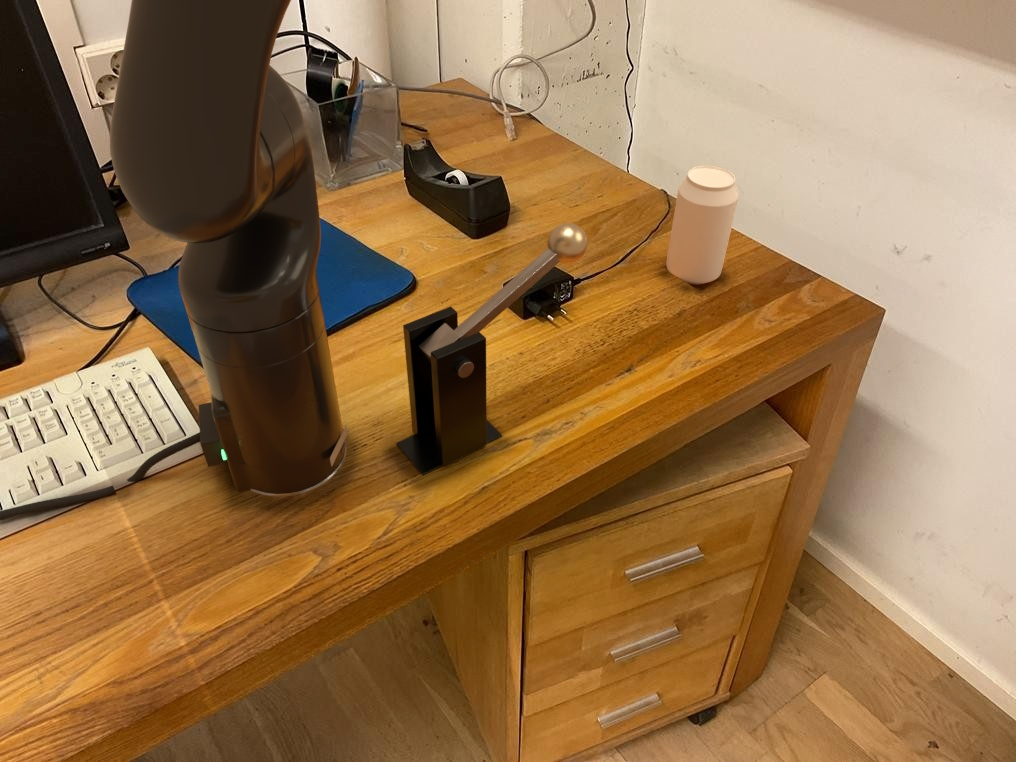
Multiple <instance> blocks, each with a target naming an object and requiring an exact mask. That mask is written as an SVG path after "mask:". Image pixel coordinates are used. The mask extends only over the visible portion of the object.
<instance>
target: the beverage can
mask: <svg viewBox="0 0 1016 762" xmlns="http://www.w3.org/2000/svg"><path fill="white" fill-rule="evenodd" d="M738 201H739V191H738V188H737V185H736V176H735V175H734V173H733V172H731V171H729V170H728V169H726V168H723V167H720V166H716V165H698V166H694V167H692V168H690V169H689V170H688V171H687V175H686V176H685V178H684V179H683V180H682V181H681V183H680V184H679V185H678V189H677V194H676V201H675V207H674V214H673V218H672V224H671V231H670V236H669V237H670V238H669V243H668V247H667V248H668V249H667V255H666V261H665V262H666V263H665V266H666V270H667V271H668V272H669V273H671V275H673V276H675V277H677V278H679V279H680V280H681V281H683V282H684V283H686V284H688V285H703V284H707V283H710V282H713V281H715V280H717V279H718V278H720V276H721V274H722V271H723V267H724V262H725V259H726V254H727V249H728V245H729V241H730V236H731V232H732V227H733V223H734V218H735V213H736V211H737V210H736V209H737V205H738Z"/></svg>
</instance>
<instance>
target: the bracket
mask: <svg viewBox="0 0 1016 762" xmlns="http://www.w3.org/2000/svg"><path fill="white" fill-rule="evenodd" d="M458 319H459V317H458V311H457V310H455V308H454V307H452V306H448V307H445V308H443V309H440V310H438V311H435V312H432V313H429V314H428V315H425V316H423V317H420V318H418V319H415V320H412V321H410V322H407V323H405V324H403V325H402V329H403V340H404V352H405V363H406V375H407V386H408V397H409V408H410V419H411V421H410V422H411V430H412V431H411V432H412V433H413V435H411V436H408V437H406V438H404V439H402V440H399V441H398V442H395V445H396V447H397V448H398V450H400V452H402V454H403V455H404V456H405V457H406V458H407V460H408V461H409V462H410V463H411V464H412V466H413V467H414V468H415V469H416V470H417V471H418V472H419V473H420V475H421V476H422V477H424V476H427V475H428V474H431V473H432V472H434V471H436V470H438V469H440V468H442V467H446V466H448V465H449V464H452V463H454V462H456V461H458V460H460V459H463V458H464V457H466V456H469V455H470V454H472V453H474V452H476V451H478V450H480V449H482V448H484V447H486V446H487V445H488V444H490V443H492V442H495V441H497V440H499V439H501V438H502V437H503V434H502V433H501V432H500V431H499V430H498V429H497V428H496V427H495V426H494V425H493V424H492V423H491V422H490V421H489V420H488V419H487V338H486V337H485V336H484V335H483V334H482V333H481V331H480V332H477V333H475V334H473V335H470V336H468V337H465V338H463V339H461V340H458V341H456V342H454V343H451V344H449V345H446V346H444V347H442V348H439V349H437V350H434V351H432V352H431V362H430V361H429V360H428V358H427V357H426V356H425V354H424V353H423V352H422V350H421V349H420V348H419V345H420V344H421V343H422V342H423V341H424V340H426V339H427V338H428V337H429V336H430V335H431V334H433V333H434V332H435V331H436V330H437V329H438V328H440V327H441V326H442V325H443V324H444V323H446V324H447V325H448V326H450V327H451V328H452V329H453V330H454V329H456V328H457V327H458V326H459V321H458Z"/></svg>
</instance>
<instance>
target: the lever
mask: <svg viewBox="0 0 1016 762" xmlns="http://www.w3.org/2000/svg"><path fill="white" fill-rule="evenodd" d="M546 245H547V248H546V250H544V251H543V252H542V253H541V254H540V255H538V256H537V257H536V258H535V259H534V260H533V261H531V262H530V263H529V264H528V265H527V266H526V267H525V268H524V269H522V270H521V271H520V272H519V273H518V274H516V275H515V276H514V277H513V278H512V279H511V280H510V281H508V282H507V283H506V284H505V285H504V286H502V288H500V289H499V290H498V291H497V292H495V293H494V295H492V296H491V297H490V298H489V299H488V300H487V301H485V302H484V303H483V304H482V305H481V306H480V307H479V308H477V309H476V310H475V311H474V312H473V313H472V314H470V315H469V316H467V318H466V319H465V320H464V321H463V322H461V323H460V324H458V327H457V328H456V329H454V330H453V329H452V328H451V327H450V326H448V325H447V324H446V323H444V324H443V325H442V326H441V327H440V328H438V329H437V330H436V331H435V332H434V333H433V334H431V335H430V336H429V337H428V338H427V339H426V340H424V341H423V342H422V343H421V344H420V345H419V348H420V349H421V350H422V352H423V353H424V354H425V356H426V357H427V358H428V360H429V361H430V362H431V352H432V351H434V350H437V349H439V348H442V347H444V346H446V345H449V344H451V343H454V342H456V341H458V340H461V339H463V338H465V337H468V336H470V335H473V334H475V333H477V332H480V333H481V331H482V330H483V329H485V328H486V327H487V326H488V325H490V324H491V323H492V322H493V321H494V320H495V319H496V318H497V317H498V316H500V315H501V314H502V313H503V312H505V310H507V308H509V307H510V306H511V305H512V304H514V302H516V301H517V300H518V299H519V298H520V297H521V296H522V295H524V294H525V293H526V292H527V291H529V289H531V288H532V287H533V286H534V285H535V284H536V283H537V282H539V281H540V280H541V279H542V278H543V277H544V276H545V275H547V274H548V273H549V272H550V271H552V269H554V268H555V267H556V266H558V264H559V263H560V264H568V265H569V264H573V263H576V262H578V261H579V260H580V259H582V258H583V257H584V255H585V253H586V252H587V249H588V238H587V234H586V233H585V231H584V230H583V229H582V227H580V226H579V225H577V224H576V223H571V222H564V223H561V224H558V225H556V226H555V227H554V228H553V229H552V230H551V231H550V233H549V235H548V237H547V244H546Z"/></svg>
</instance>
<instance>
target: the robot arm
mask: <svg viewBox="0 0 1016 762" xmlns="http://www.w3.org/2000/svg"><path fill="white" fill-rule="evenodd" d="M291 1H292V0H131V2H130V3H131V4H130V9H129V16H128V23H127V28H126V33H125V39H124V44H123V45H124V46H123V51H122V57H121V62H120V67H119V74H118V79H117V85H116V90H115V96H114V99H113V100H114V101H113V107H112V112H111V118H110V129H109V151H110V159H111V164H112V167H113V171H114V174H115V178H116V179H117V183H118V184H119V187H120V189H121V191H122V194H123V195H124V197H125V198H126V200H127V202H128V203H129V205H130V207H131V208H132V210H133V211H135V213H136V214H137V215H138V217H139V218H140V219H141V220H142V221H143V222H144V223H146V224H147V225H148V226H149V227H151V229H153V230H154V231H155V232H157V233H159V234H160V235H162V236H163V237H166V238H168V239H170V240H173V241H176V242H180V243H186V246H185V248H184V251H183V253H182V256H181V259H180V261H179V265H178V271H177V285H178V288H179V292H180V295H181V298H182V302H183V306H184V309H185V311H186V315H187V318H188V321H189V325H190V328H191V331H192V334H193V338H194V341H195V345H196V348H197V351H198V354H199V355H198V356H199V358H200V361H201V364H202V367H203V371H204V375H205V377H206V378H205V379H206V381H207V384H208V387H209V390H210V402H205V403H200V404H198V423H199V432H197V433H195V434H193V435H191V436H188V437H187V438H184V439H182V440H180V441H177V442H175V443H173V444H171V445H168V446H167V447H165V448H163V449H161V450H159V451H158V452H156V453H154V454H153V455H151V456H149V458H148V459H146V460H145V461H144V462H142V464H141V465H140V466H139V467H138V469H137V470H136V471H135V472H134V473H133V474H132V475H131V476H130V477H128V478H127V479H126V482H129V483H135V482H140V481H141V480H142V479H143V478H144V477H145V475H146V474H147V473H148V472H149V471H150V470H151V468H153V467H154V466H156V465H157V464H158V463H160V462H161V461H164V460H165V459H167V458H169V457H171V456H172V455H174V454H177V453H179V452H181V451H183V450H185V449H187V448H190V447H192V446H194V445H197V444H200V447H201V451H202V453H203V456H204V459H205V462H206V465H207V467H208V468H210V467H214V466H219V465H224V464H227V466H228V469H229V472H230V476H231V479H232V482H233V486H234V489H235V492H237V493H242V492H247V491H251V492H254V493H256V494H259V495H262V496H267V497H291V496H296V495H301V494H304V493H308V492H309V491H312V490H315V489H316V488H319V487H321V486H323V484H325V483H327V482H328V481H329V480H331V479H332V478H333V477H334V476H335V475H336V474H337V473H338V471H339V470H340V469H341V467H342V466H343V464H344V462H345V460H346V457H347V453H348V452H347V451H348V446H347V440H346V439H347V436H348V434H349V433H348V428H347V425H345V426H344V428H343V423H342V416H341V410H340V405H339V398H338V393H337V387H336V382H335V381H336V380H335V375H334V369H333V363H332V358H331V352H330V351H331V350H330V345H329V339H328V334H327V327H326V322H325V317H324V316H325V315H324V310H323V303H322V298H321V297H322V296H321V291H320V286H319V280H318V279H319V278H318V271H317V269H318V262H319V261H318V260H319V256H320V250H321V241H322V229H321V218H320V209H319V201H318V200H319V199H318V192H317V191H318V189H317V181H316V173H315V165H314V157H313V148H312V143H311V138H310V134H309V129H308V125H307V121H306V119H305V116H304V113H303V110H302V107H301V106H300V103H299V101H298V99H297V97H296V95H295V93H294V91H293V90H292V89H291V87H290V85H289V84H288V83H287V82H286V80H285V79H284V78H283V77H282V75H281V74H280V73H279V72H278V71H277V70H276V69H275V68H274V67H273V66H271V65H270V64H271V60H272V55H273V51H274V47H275V44H276V40H277V36H278V33H279V31H280V28H281V25H282V22H283V20H284V17H285V15H286V13H287V11H288V8H289V7H290V4H291ZM116 494H117V492H116V489H115V487H114V486H113V485H110V486H107V487H103V488H101V489H97V490H93V491H89V492H84V493H78V494H73V495H68V496H62V497H57V498H56V497H55V498H51V499H46V500H42V501H41V500H40V501H35V502H32V503H26V504H23V505H19V506H15V507H11V508H7V509H2V510H0V521H4V520H7V519H10V518H14V517H20V516H22V515H27V514H31V513H36V512H40V511H45V510H49V509H55V508H61V507H66V506H72V505H76V504H81V503H86V502H90V501H94V500H98V499H103V498H106V497H109V496H112V495H116Z"/></svg>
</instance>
